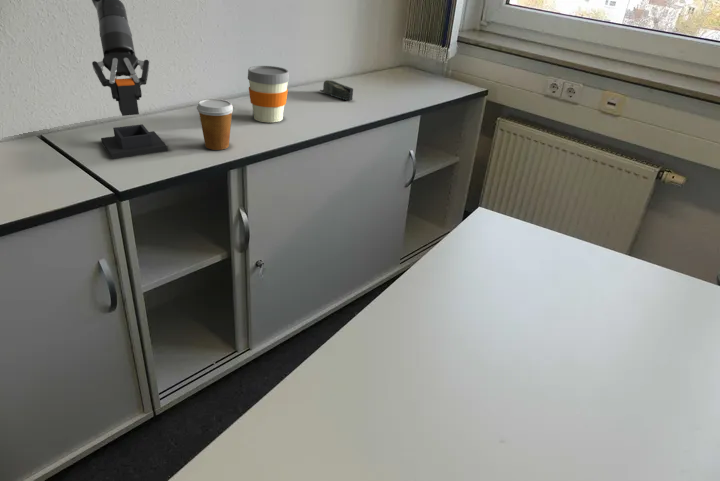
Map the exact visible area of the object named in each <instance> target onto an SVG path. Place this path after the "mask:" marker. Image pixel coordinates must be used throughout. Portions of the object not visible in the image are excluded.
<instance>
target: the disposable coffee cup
mask: <svg viewBox="0 0 720 481" xmlns="http://www.w3.org/2000/svg"><path fill="white" fill-rule="evenodd" d="M232 104H233V103H232V102H231V101H230V100H226V99H222V98H207V99H201V100H200V101H198V103H197V106H196V110H197V112H198V115H199V121H200V125H201V130H202V135H203V136H202V137H203V141H204V145H205V148H206V149H208V150H212V151H222V150H226V149H228V148H229V147H230V138H231V127H232V117H233V116H232V114H233V111H234V110H235V109H234V107H233V105H232Z"/></svg>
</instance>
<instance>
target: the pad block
mask: <svg viewBox="0 0 720 481" xmlns="http://www.w3.org/2000/svg"><path fill="white" fill-rule="evenodd" d="M115 84H116V87H117V92H118V98H119V101H117V103H118V108H119V109H118V110H119V112H120V113H121V116H122V117H125V116H126V117H127V116H137V115H140V112H139V106H138V105H139V104H138V100H137V97H136V90H135V84H134V82H133V80H132V79H131V78H130V77H129V78H117V79H115Z"/></svg>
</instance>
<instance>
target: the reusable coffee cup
mask: <svg viewBox="0 0 720 481" xmlns="http://www.w3.org/2000/svg"><path fill="white" fill-rule="evenodd" d="M247 80H248V82H249V86H248V93H249V100H250V104H252V105H251V106H252V112H253V119H254V120H256V121H258V122H260V123H278V122H282V121H283V119H284V111H285V106H286V104H287V98H288V93H289V89H288V84H289V83H288V82H289V81H290V76H289V70H288V69H286V68H284V67H280V66H275V65H273V66H272V65H255V66H250V67H249V68H248V70H247Z"/></svg>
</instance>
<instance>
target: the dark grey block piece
mask: <svg viewBox="0 0 720 481" xmlns="http://www.w3.org/2000/svg"><path fill="white" fill-rule="evenodd" d="M322 86H323V88H322V89H319V92H321V93H324V94H327V95H329V96H333V97H335V98H337V99H340V100H342V101H348V102H349V101H353V96H354V95H353V94H354V88H353V87H351V86H348V85H345V84H343V83H340V82H337V81H335V80H331V79H327V80H324V81H323V85H322Z"/></svg>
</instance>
